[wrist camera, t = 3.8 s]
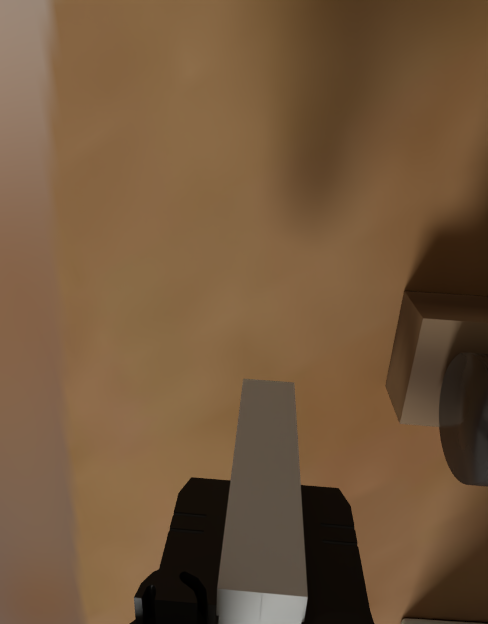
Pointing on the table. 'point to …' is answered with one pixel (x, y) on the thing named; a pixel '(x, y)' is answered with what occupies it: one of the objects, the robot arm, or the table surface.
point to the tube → (465, 418)
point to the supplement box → (433, 622)
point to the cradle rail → (432, 349)
